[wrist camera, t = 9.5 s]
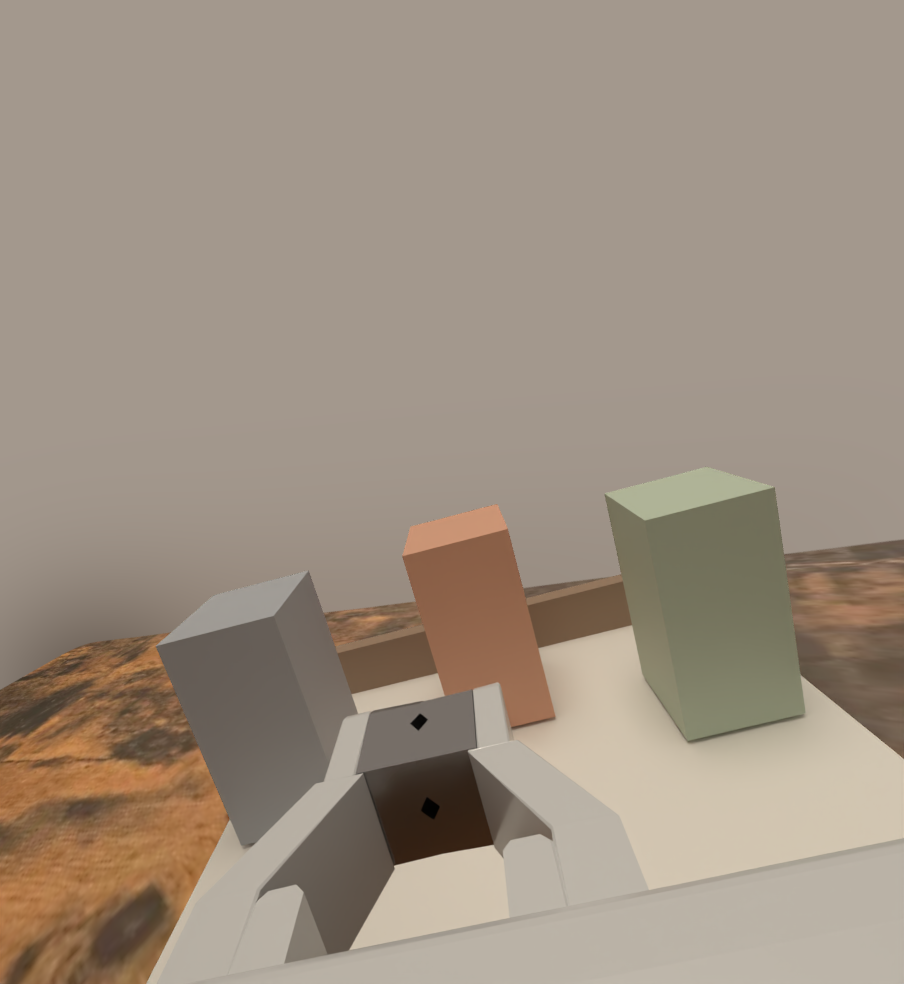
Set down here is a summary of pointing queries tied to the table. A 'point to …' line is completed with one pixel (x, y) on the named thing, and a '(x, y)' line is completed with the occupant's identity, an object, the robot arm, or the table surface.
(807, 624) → the table surface
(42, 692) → the table surface
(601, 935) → the robot arm
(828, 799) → the cream board with rail
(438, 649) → the terracotta rectangular block
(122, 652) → the table surface
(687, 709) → the sage green block
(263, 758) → the blue-grey block
